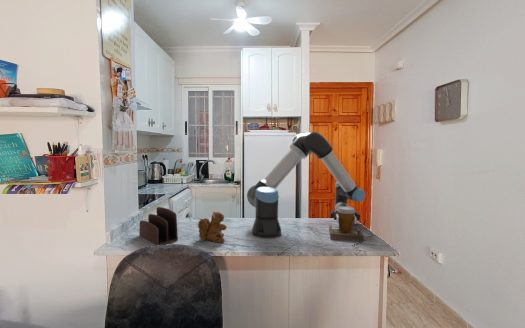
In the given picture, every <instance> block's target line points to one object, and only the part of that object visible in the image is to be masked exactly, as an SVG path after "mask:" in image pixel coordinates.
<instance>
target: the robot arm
mask: <svg viewBox="0 0 525 328" xmlns="http://www.w3.org/2000/svg"><path fill="white" fill-rule="evenodd" d="M333 151H334V149H333V147H332V145H331V144H330V143H329V141H328V140H327V139H326V137H324V136H323V135H321V134H320V133H319V132H317V131H310V132H309V131H308V132H306V131H305V132H300V133H297V134H296V135H295V136H294V137H293V139H292V143H291V144H290V146H289V150H288V151H287V152H286V154H285V155H283V157H282V158H281V159H280V160H279V162H278V163H277V164H276V165H275V167H273V168H272V170H270V172H269V173H268V174H267V175H266V177H265V178H264V179H261V180H259V181H258V182H257V183H256V184H255V185H253V186H250V187H249V188H248V190H247V192H246V199H247V201H248V203H249V204H250V205H251V207H253V208H255V219H254V222H253V225H252V228H251V234H252V236H254V237H257V238H261V239H262V238H263V239H273V238H278V237H280V236H281V235H282V228H281V223H280V222H279V197H280V196H279V191H278V190H277V188H278V187H279V186H280V185H281V183H282V182H283V181H284V180H285V178H286V177H287V176H288V175H289V174H290V173H291V172H292V170H294V168H295V167H296V166H297V165H298V164H299V162H300V161H301V160H303V159H304V160H305V159H306V158H307V157H308V156H309V155H310V154H313V155H315V156H316V159H318V160H321V162H322V163H323V164H324V165H325V167H326V168H327V170H328V171H329V172H330V174H331V175H332V176H333V178H334V179H335V180H336V182H335V187H334V189H335V190H334V191H335V193H334V195H335V198H334V205H333V206H334V209H335V210H334V209H330V210H331V212H330V214H329V215H330V219H333V220H334V221H336V223H339V217H338V212H337V208H338V207H339V206H348V200H350V201H353V202H358V203H361V202H363V201H364V200H365V198H366V192H365V191H364V189H361V188H359V187H358V185H357V184H356V183H355V182H354V180H353V178H352V177H351V176H350V174H349V173H348V171H347V169H345V167H344V166H343V165H342V163H341V161H340V160H339V159H338V158H337V156H336V155H335V153H334V152H333ZM357 221H358V222H359V221H361V214H359V212H357V211H356V212H355V213H354V219H353V224H356V225H357Z"/></svg>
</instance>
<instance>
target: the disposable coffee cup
mask: <svg viewBox="0 0 525 328" xmlns="http://www.w3.org/2000/svg"><path fill="white" fill-rule="evenodd" d="M337 212H338V217H339V222H338V229H339V230H340V231H343V232H351V231H352V230H353V225H354V221H353V219H354V213H355V212H357V211H356V209H355V207H353V206H349V205H347V206H339V207H338V208H337Z"/></svg>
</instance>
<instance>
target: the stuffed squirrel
mask: <svg viewBox="0 0 525 328" xmlns="http://www.w3.org/2000/svg"><path fill="white" fill-rule="evenodd" d="M224 219H225V215H224V214H223V213H221V212H219V211H213V212H212V214H211V220H210V219H209V218H200V220H199V221H198V223H197V226H198V232H199V234H198V237H199V238H200V240H202V241H203V242H205V241H210V242H213V243H216V244H217V243H225V242H226V240H225V238H224V236H225V233H223V232H222V231H226V230H227V225H226V224H224V223H222V222H225V221H224Z"/></svg>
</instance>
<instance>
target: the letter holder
mask: <svg viewBox="0 0 525 328" xmlns="http://www.w3.org/2000/svg"><path fill="white" fill-rule="evenodd" d="M147 216H148V221H147V220H142V219H141V220H140V221H139V237H142V238H143V239H145V240H147V241H149V242H151V243H152V244H154V245H156V246H158V245H159V246H162V245H161V244H163V245H167V244H170V243H174V242H177V241H178V239H179V237H178V220H177V219H178V218H177V213H176V212H174V211H173V210H171V209H169V208H165V207H162V206H161V207H160V206H157V207H156V214H152V213H149V214H148V215H147Z"/></svg>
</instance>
